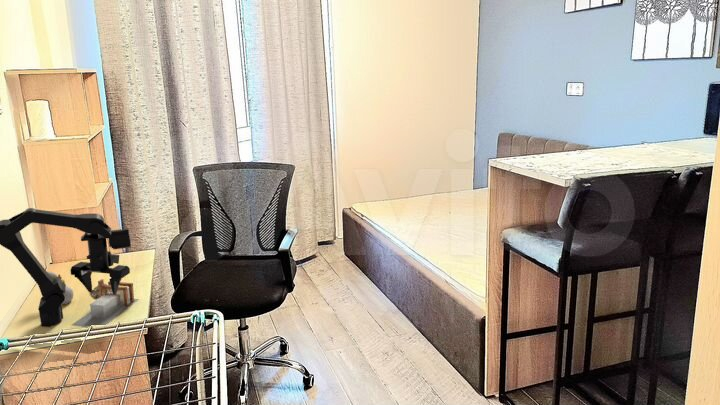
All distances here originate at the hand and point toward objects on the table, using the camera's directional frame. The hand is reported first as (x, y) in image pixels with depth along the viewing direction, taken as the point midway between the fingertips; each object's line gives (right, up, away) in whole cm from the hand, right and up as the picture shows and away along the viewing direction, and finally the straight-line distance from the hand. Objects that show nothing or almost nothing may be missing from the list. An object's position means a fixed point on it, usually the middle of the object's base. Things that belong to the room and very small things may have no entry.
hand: (102, 293), depth 177 cm
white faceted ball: (-21, -6, +10) cm, 24 cm away
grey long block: (0, -7, +6) cm, 9 cm away
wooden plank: (-6, -6, +12) cm, 14 cm away
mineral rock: (-10, -4, +18) cm, 22 cm away
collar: (0, -7, +9) cm, 11 cm away
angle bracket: (+1, -6, +12) cm, 14 cm away
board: (0, -8, +4) cm, 9 cm away
